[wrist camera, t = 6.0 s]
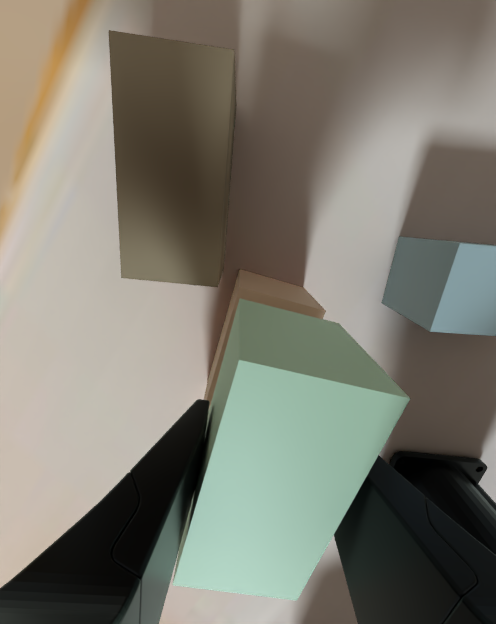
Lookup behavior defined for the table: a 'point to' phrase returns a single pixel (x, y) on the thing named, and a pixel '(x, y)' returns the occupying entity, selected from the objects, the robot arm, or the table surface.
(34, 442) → the table surface
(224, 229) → the walnut brick
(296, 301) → the tan brick
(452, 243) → the slate brick
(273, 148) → the table surface
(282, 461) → the sage brick
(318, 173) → the table surface
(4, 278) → the table surface
